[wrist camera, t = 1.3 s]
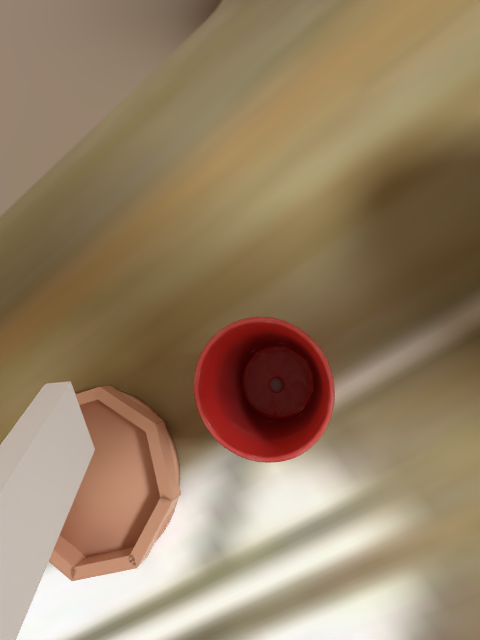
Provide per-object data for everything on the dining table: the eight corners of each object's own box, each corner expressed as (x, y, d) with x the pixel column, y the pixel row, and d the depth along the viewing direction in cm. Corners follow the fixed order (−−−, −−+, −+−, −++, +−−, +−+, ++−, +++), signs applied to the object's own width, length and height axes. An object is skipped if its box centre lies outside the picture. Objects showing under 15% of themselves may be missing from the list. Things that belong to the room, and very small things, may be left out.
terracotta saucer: (210, 445, 38) (201, 451, 35) (127, 600, 38) (112, 618, 35) (79, 360, 42) (63, 360, 40) (6, 498, 42) (-16, 507, 40)
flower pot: (252, 455, 37) (226, 486, 27) (210, 354, 39) (172, 351, 29) (352, 413, 35) (361, 431, 26) (302, 310, 37) (293, 292, 28)
